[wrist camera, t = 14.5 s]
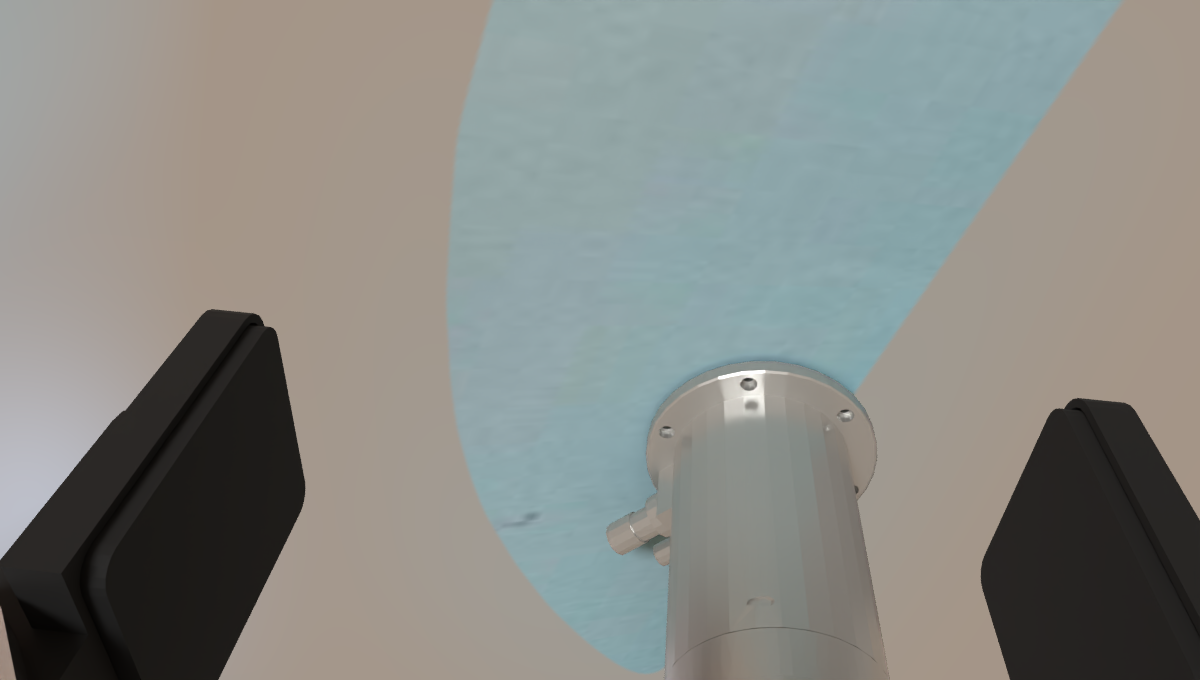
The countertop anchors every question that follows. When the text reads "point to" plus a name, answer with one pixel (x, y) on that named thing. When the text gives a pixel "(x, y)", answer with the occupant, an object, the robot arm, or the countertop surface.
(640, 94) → the countertop surface
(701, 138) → the countertop surface
